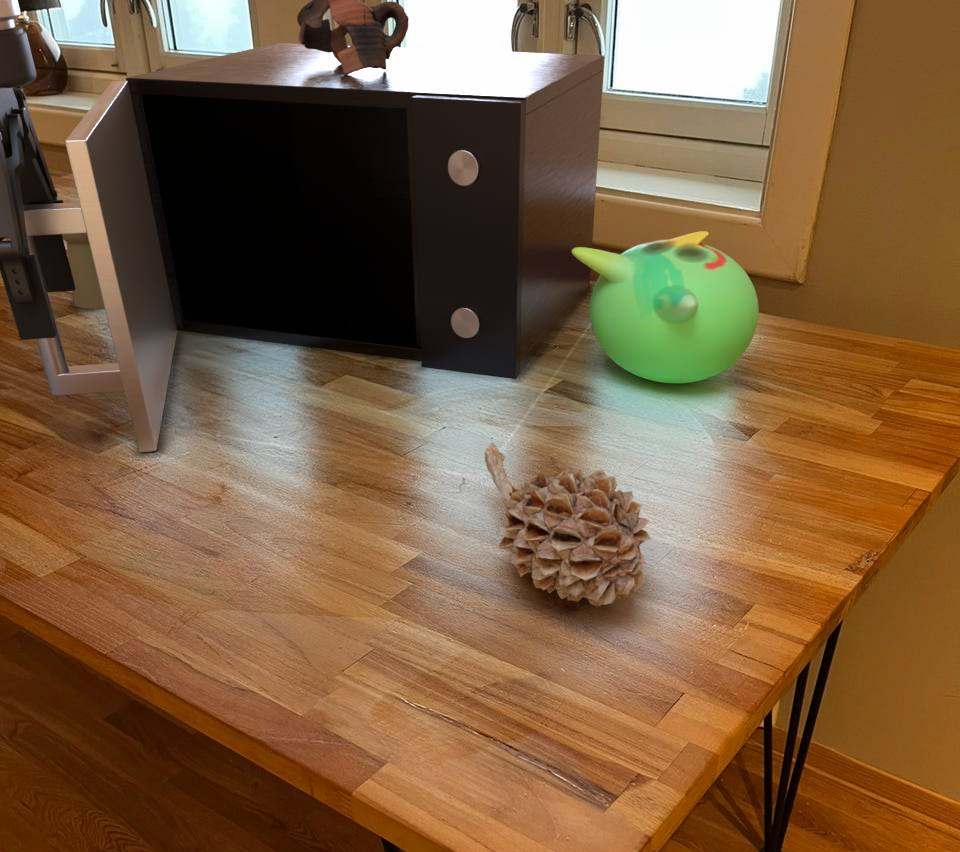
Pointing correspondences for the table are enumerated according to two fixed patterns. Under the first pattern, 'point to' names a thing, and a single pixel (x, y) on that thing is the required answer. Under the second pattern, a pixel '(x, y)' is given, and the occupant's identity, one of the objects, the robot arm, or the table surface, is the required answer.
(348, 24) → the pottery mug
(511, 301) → the microwave
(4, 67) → the robot arm
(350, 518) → the table surface
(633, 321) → the toy bird
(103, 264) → the microwave door
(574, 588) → the pine cone
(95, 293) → the tan game pawn
